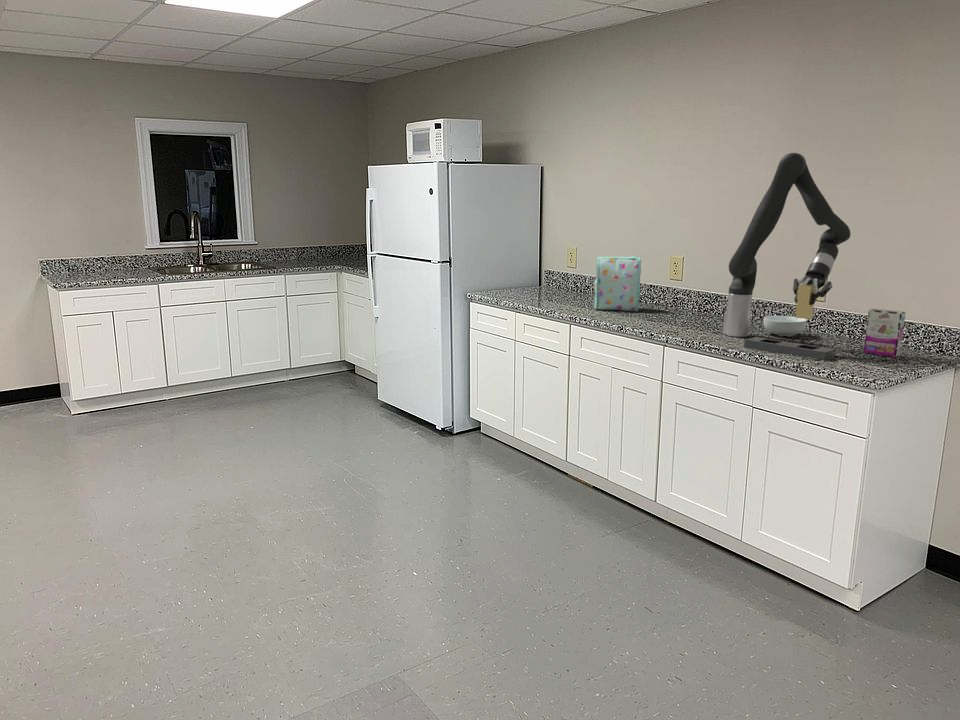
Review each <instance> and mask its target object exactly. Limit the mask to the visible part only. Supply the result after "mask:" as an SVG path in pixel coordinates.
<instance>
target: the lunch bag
mask: <svg viewBox="0 0 960 720" xmlns="http://www.w3.org/2000/svg"><path fill="white" fill-rule="evenodd" d="M596 261H597V262H596V276H595V277H596V278H595V280H594V299H593V300H594V301H593V305H594V309H595V310H604V311H605V310H606V311H607V310H608V311H611V310H613V311H626V312H628V311H629V312H639V303H640V301H639V300H640V291H641V285H640V282H641V273H642V266H641V265H642V259H641V257H637V256H634V255H633V256H597V258H596Z"/></svg>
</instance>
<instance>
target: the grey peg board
mask: <svg viewBox="0 0 960 720" xmlns="http://www.w3.org/2000/svg"><path fill="white" fill-rule="evenodd" d="M743 348H744V349H745V348H746V349H751V350H757V351H762V350H763V352H764V351H765V352H768V351H770V352H769V353H775V352H776V354H781V353H784V354H783V355H787V354H792V355H791V356H793V355H798V356H797V357H799V356H804V357H803V358H805V357H811V358H816V359H815V360H817V359H821V360H820V361H823V360H825V361H827V360H826V359H828V360H830V359H829V358H831V359H833V358H832V357H834V358H835V357H836V350H837V349H836V348H830V347H823V346H817V345H811V344H804V343H797V342H790V341H784V340H778V339H773V338H772V339H771V338H766V337H765V338H764V337H760V336H759V337H757V336H755V337H750V338H746V339H744V341H743ZM811 358H810V359H811Z"/></svg>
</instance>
